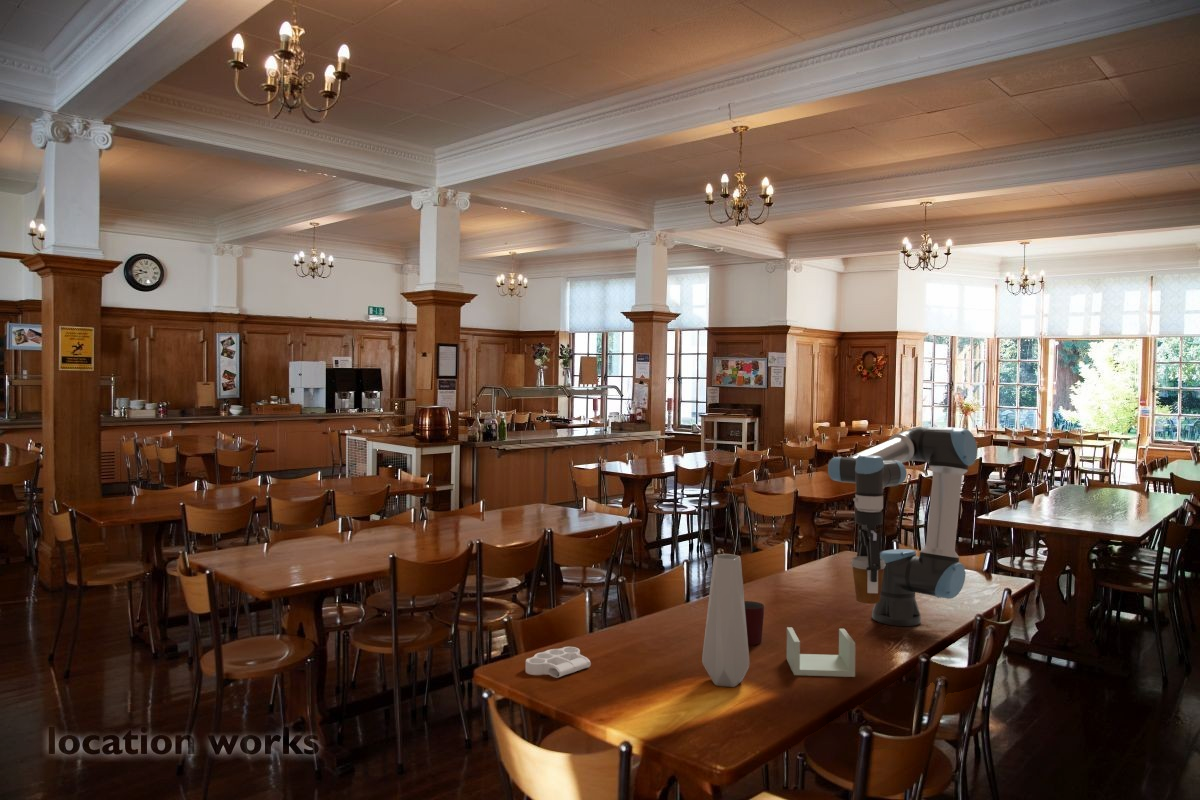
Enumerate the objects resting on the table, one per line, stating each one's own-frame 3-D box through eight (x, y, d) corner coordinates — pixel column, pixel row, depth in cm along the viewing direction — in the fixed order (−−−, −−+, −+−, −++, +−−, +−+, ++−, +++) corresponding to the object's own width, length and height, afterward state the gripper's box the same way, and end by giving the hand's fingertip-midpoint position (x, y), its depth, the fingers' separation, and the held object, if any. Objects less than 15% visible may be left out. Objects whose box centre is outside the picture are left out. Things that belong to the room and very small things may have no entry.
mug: (746, 650, 239) (746, 612, 239) (721, 643, 245) (722, 606, 245) (769, 641, 247) (769, 605, 247) (745, 634, 254) (745, 599, 253)
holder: (844, 660, 230) (844, 628, 230) (855, 676, 217) (855, 643, 217) (786, 658, 232) (786, 627, 231) (793, 675, 219) (794, 641, 218)
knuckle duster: (550, 684, 213) (514, 669, 223) (599, 667, 226) (562, 654, 236) (550, 671, 213) (514, 657, 223) (599, 654, 226) (563, 642, 236)
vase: (740, 694, 205) (740, 563, 204) (697, 685, 211) (698, 558, 210) (757, 679, 215) (758, 555, 214) (717, 671, 221) (717, 550, 221)
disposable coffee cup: (887, 606, 227) (888, 563, 227) (852, 604, 229) (852, 561, 229) (883, 597, 237) (883, 556, 237) (848, 596, 239) (849, 555, 238)
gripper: (846, 504, 244) (845, 579, 244) (865, 515, 222) (864, 598, 222) (872, 504, 243) (871, 579, 244) (893, 516, 221) (892, 598, 222)
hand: (868, 588), depth 233 cm, fingers closed on disposable coffee cup, 9 cm apart
